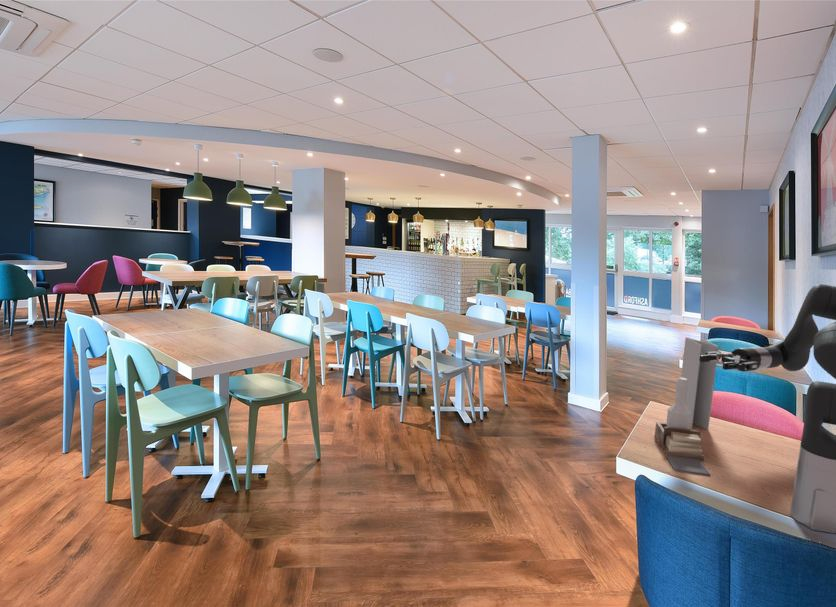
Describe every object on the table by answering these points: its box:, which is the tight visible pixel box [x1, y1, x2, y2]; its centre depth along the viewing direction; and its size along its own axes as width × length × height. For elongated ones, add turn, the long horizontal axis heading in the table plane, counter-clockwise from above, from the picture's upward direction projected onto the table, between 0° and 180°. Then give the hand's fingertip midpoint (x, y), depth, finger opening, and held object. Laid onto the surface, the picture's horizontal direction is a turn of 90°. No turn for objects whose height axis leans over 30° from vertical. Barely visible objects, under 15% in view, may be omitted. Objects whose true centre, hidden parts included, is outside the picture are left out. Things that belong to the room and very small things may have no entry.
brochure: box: [680, 336, 719, 431], centre depth 164 cm, size 14×6×30 cm, turn 168°
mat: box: [665, 454, 711, 477], centre depth 132 cm, size 9×9×1 cm
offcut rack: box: [654, 421, 706, 462], centre depth 143 cm, size 15×10×7 cm, turn 166°
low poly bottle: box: [666, 377, 691, 429], centre depth 145 cm, size 6×6×22 cm
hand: (711, 362), depth 145 cm, fingers open, 8 cm apart
